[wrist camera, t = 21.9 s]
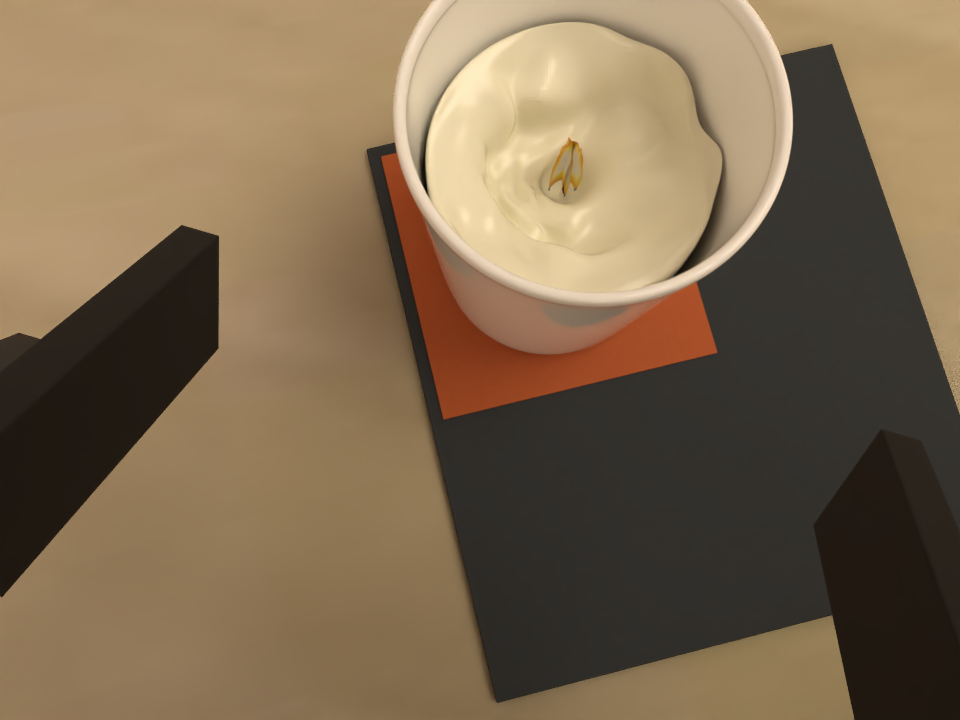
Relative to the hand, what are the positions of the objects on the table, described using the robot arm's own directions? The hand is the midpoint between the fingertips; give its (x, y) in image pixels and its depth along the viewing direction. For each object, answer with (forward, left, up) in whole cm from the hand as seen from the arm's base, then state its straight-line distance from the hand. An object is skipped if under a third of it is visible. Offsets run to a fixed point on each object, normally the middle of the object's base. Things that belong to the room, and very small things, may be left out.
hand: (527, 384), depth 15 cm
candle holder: (-4, -6, -15) cm, 16 cm away
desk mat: (-8, -1, -15) cm, 17 cm away
